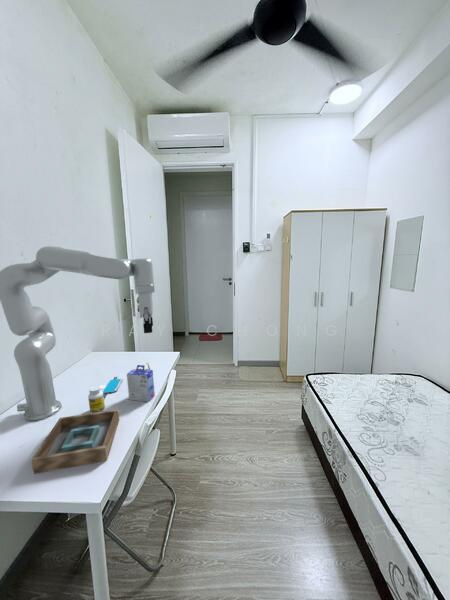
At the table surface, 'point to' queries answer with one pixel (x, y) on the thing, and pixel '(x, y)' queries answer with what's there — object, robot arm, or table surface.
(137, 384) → the ink cartridge box
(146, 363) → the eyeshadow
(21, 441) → the table surface
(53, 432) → the walled box
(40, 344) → the robot arm
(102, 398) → the supplement bottle
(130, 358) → the table surface
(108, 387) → the blue flat piece
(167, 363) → the table surface
